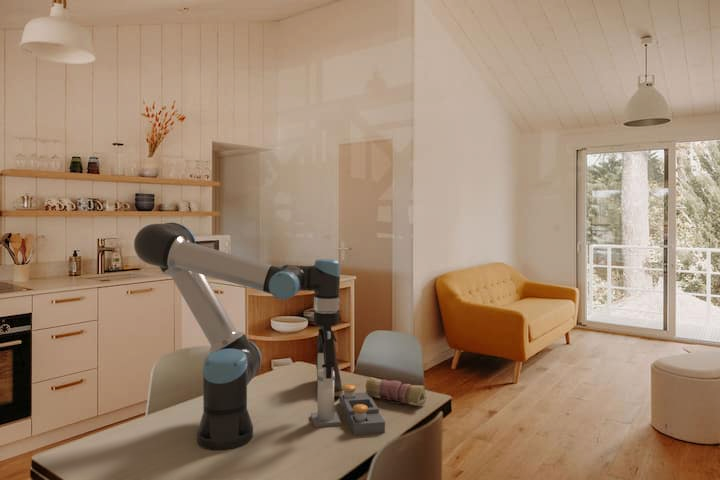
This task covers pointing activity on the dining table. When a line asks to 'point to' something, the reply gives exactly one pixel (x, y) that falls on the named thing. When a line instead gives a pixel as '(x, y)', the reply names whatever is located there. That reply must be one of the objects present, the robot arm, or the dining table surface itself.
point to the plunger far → (349, 391)
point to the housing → (373, 416)
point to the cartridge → (325, 399)
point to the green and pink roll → (396, 391)
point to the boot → (337, 380)
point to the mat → (320, 423)
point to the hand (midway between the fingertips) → (324, 380)
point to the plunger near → (360, 412)
